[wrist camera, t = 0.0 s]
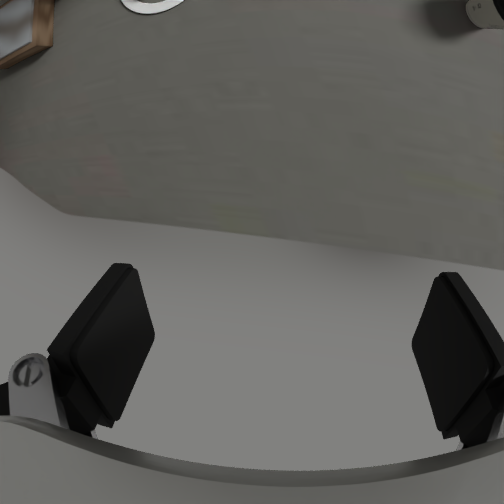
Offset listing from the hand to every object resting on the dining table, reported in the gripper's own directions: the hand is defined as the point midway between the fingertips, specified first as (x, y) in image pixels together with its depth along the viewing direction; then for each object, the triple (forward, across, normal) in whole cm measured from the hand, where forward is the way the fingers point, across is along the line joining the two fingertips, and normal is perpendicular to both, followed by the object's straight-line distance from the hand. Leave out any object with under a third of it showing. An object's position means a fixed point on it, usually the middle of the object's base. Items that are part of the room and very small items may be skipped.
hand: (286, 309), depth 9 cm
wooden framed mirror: (+32, +40, -25) cm, 57 cm away
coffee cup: (+32, -28, -23) cm, 48 cm away
